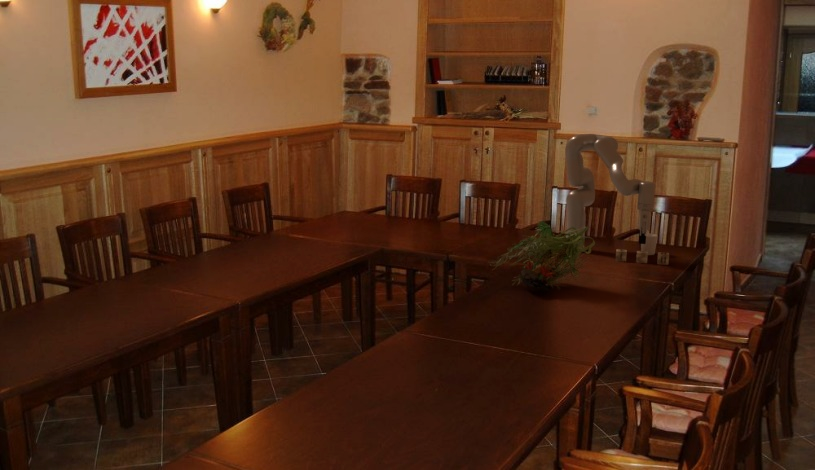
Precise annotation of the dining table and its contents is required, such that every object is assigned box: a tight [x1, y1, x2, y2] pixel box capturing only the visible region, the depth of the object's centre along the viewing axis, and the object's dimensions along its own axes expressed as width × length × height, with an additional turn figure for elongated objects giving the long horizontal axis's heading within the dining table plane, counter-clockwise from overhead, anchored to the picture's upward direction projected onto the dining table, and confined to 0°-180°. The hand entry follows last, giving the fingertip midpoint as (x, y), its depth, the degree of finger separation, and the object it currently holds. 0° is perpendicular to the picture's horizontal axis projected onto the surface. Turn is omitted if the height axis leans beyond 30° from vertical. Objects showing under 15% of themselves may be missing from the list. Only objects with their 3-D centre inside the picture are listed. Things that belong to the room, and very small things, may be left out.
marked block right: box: [656, 251, 670, 266], centre depth 416 cm, size 5×5×5 cm
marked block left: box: [615, 248, 628, 262], centre depth 422 cm, size 5×5×5 cm
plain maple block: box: [636, 250, 649, 264], centre depth 419 cm, size 5×5×5 cm
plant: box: [488, 220, 599, 292], centre depth 364 cm, size 35×35×40 cm
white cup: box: [640, 232, 658, 256], centre depth 436 cm, size 8×8×10 cm
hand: (642, 243), depth 418 cm, fingers closed
